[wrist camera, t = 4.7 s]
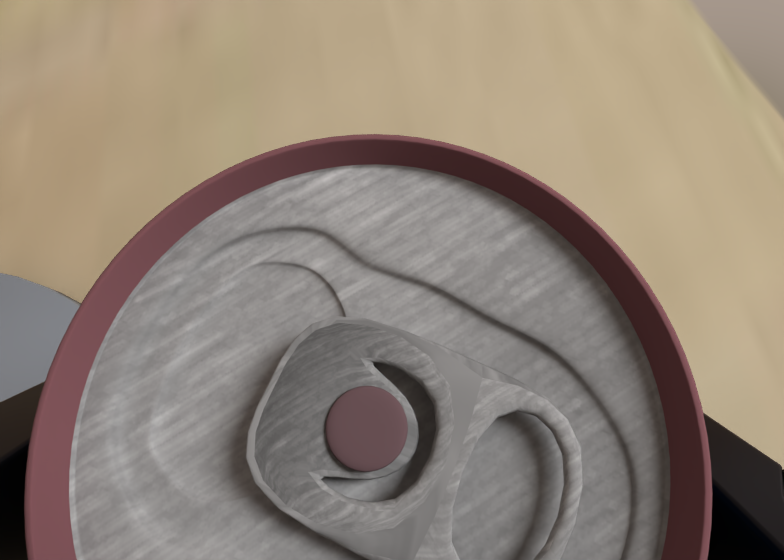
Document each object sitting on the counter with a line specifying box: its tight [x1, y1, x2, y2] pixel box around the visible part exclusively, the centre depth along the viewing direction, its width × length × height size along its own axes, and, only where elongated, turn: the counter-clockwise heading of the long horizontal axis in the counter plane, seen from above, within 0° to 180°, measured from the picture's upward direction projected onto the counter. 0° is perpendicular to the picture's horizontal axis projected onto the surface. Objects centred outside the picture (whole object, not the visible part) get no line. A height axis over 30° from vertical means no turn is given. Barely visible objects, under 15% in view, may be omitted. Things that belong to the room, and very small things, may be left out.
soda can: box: [24, 134, 712, 560], centre depth 10 cm, size 7×7×12 cm
